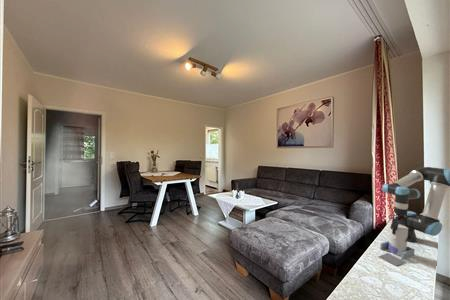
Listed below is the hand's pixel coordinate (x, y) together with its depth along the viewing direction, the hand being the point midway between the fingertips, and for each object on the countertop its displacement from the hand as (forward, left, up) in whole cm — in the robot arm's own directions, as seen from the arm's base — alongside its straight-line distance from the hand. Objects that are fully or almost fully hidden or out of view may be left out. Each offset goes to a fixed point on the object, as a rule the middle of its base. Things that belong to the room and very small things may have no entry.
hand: (398, 236), depth 149 cm
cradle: (0, 0, -12) cm, 12 cm away
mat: (+14, +4, -12) cm, 19 cm away
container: (0, 0, -12) cm, 12 cm away
